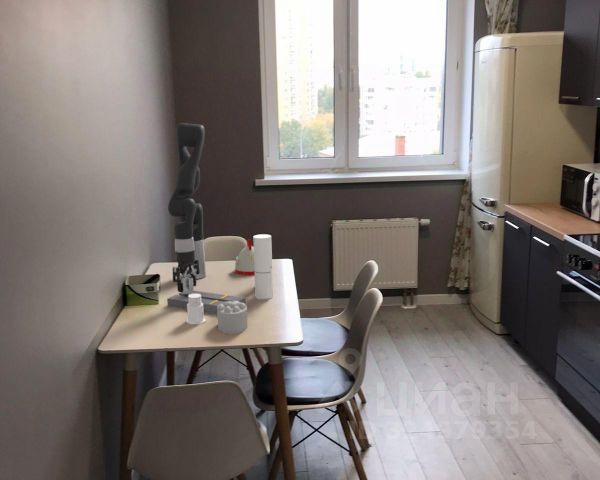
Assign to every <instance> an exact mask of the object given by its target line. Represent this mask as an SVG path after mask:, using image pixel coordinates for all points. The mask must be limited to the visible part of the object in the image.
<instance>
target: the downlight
mask: <svg viewBox="0 0 600 480" xmlns="http://www.w3.org/2000/svg"><path fill="white" fill-rule="evenodd" d="M188 300H189V303H188V304H187V309H186V310H187V319H186V320H185V321H186V323H187V324H189V325H201V324H203V323H205V322H206V318H205V316H204V315H205V313H204V312H205V311H203V303H201V294H190V295H188Z"/></svg>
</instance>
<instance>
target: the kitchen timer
mask: <svg viewBox="0 0 600 480" xmlns="http://www.w3.org/2000/svg"><path fill="white" fill-rule="evenodd" d="M234 272H235V274H237V275H242V276H255V269H254V246H253V245H252V240H251V239H250V238H248V239H247V241H246V246H244V247H243V248H242V249H241V251H240V252H239V253H238V255H237V256H236V258H235V267H234Z"/></svg>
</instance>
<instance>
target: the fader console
mask: <svg viewBox="0 0 600 480" xmlns="http://www.w3.org/2000/svg"><path fill="white" fill-rule="evenodd" d="M192 294H201V303H203V311H204V312H205V313H211V314H217V307H218V305H219V304H222V303H224V302H226V301H239V302H241V303H245V305H246V306H247V298H246V297H244V296H236V295H229V294H221V293H213V292H207V291H200V290H194V293H192ZM166 301H167V307H174V308H180V309H186V310H187V304H188V303H189V300H188V296H185V294H181V292H178V294H174V295H172V296H170V297H167V299H166Z"/></svg>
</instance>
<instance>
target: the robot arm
mask: <svg viewBox="0 0 600 480" xmlns="http://www.w3.org/2000/svg"><path fill="white" fill-rule="evenodd" d="M175 132H176V133H175V135H176V138H175V139H176V149H177V176H176V184H175V188H174V191H173V193H172V195H171V197H170V200H169V202H168V205H167V210H168V213H169V215H170V216H172V217H177V220H178V222H177V223H175V224H174V225H173V226H174V253H175V256H174V257H175V262H177V266H172V282H173V283H176V286H177V289H176V290H177V292H178V293H181V292H183V291H184V290H183V283H182V282H183V280H184V278H185V277H189V278H193V287H196V286H197V280H198V279H203V278H205V277H206V276H207V275H206V274H207V273H206V256H205V240H204V239H205V238H204V211H203V210H204V209H203V205H202V204H201V203H196V202H195V200H194V199H193V198H191V197H192V196H193V195H194V194H195V193H196V191H197V190H198V188H199V187H200V183H201V169H200V167H199V164H200V159H201V155H202V152H203V148H204V143H205V134H206V131H205V127H204V125H202V124H196V123H187V122H181V123H179V124H178V125H177V127H176V131H175ZM188 148H193V150H192V153H191V154H190V152H189V151H188ZM180 279H181V280H180Z"/></svg>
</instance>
